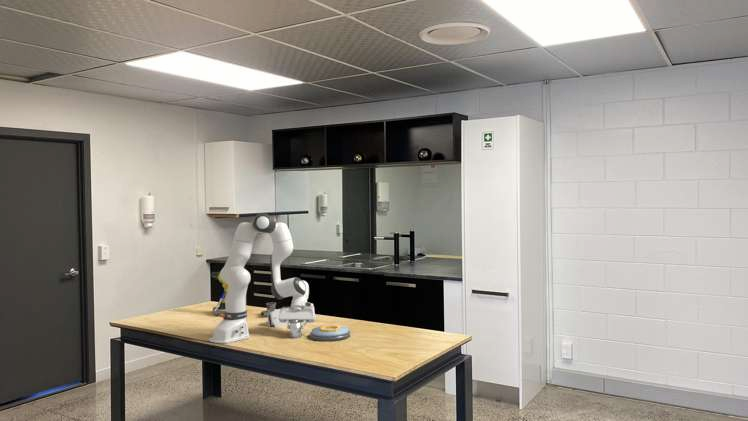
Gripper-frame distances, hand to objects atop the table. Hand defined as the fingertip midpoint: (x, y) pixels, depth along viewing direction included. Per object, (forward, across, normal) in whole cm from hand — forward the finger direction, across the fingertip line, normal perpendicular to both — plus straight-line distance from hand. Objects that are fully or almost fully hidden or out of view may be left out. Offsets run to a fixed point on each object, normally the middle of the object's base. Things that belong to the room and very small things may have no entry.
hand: (295, 328), depth 299 cm
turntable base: (+2, +19, +5) cm, 20 cm away
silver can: (+3, 0, +4) cm, 5 cm away
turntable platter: (+1, +19, +3) cm, 19 cm away
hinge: (-19, -17, +27) cm, 37 cm away
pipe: (-35, -30, +42) cm, 63 cm away
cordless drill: (-42, -62, +49) cm, 90 cm away
